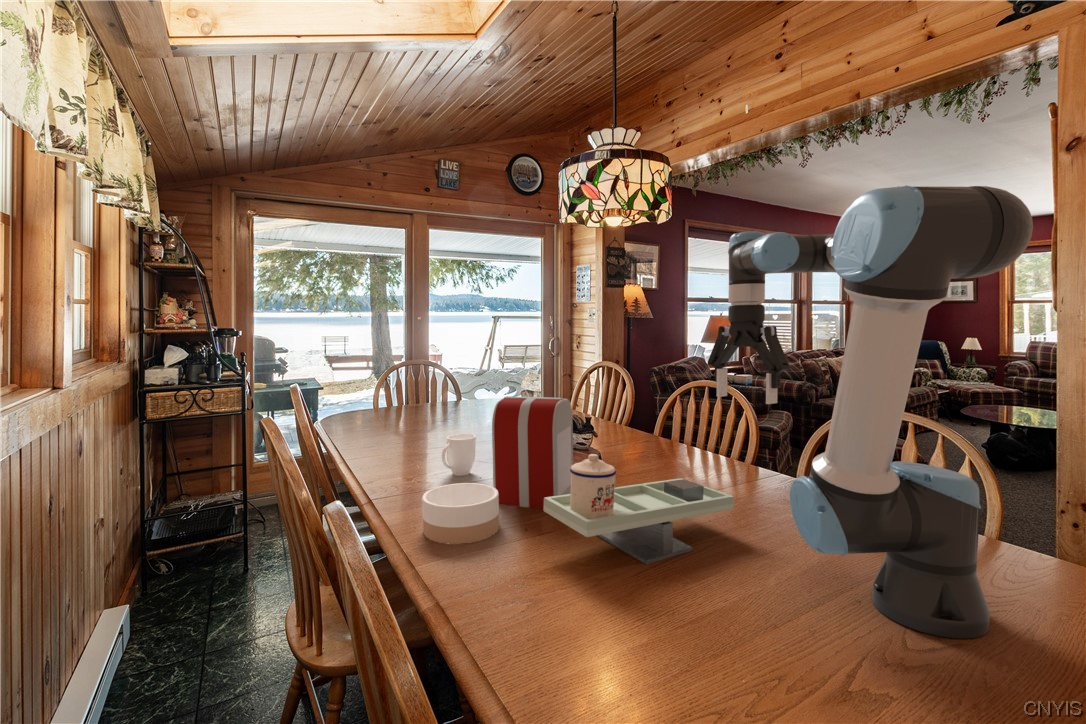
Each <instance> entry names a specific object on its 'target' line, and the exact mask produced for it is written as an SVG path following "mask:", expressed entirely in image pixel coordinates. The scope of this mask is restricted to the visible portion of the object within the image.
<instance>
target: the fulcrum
mask: <svg viewBox="0 0 1086 724" xmlns="http://www.w3.org/2000/svg"><path fill="white" fill-rule="evenodd" d="M673 526H674V524H673V521H669V522H663V523H658V524H653V525H648V526H643V527H637V528H632V529H627V530H622V531H616V532H611V533H606V534H601V535H596V536H597V537H598V538H600V539H602V540H603V541H605V542H607V543H609V544H610V545H612V546H613V547H615V548H618V549H619V550H621V551H623V553H626V554H627V555H630V556H631V557H632V558H634V559H636V560H638V561H640V562H641V563H643V564H644V565H646V566H647V565H650V564H653V563H657V562H659V561H663V560H667V559H670V558H672V557H676V556H680V555H683V554H685V553H689V552H693V546H691V545H689V544H687V543H685V542H683V541H681V540H679V539H677V538H675V537H674V532H673V531H674V527H673Z"/></svg>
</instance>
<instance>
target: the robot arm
mask: <svg viewBox="0 0 1086 724" xmlns="http://www.w3.org/2000/svg"><path fill="white" fill-rule="evenodd" d="M1033 230H1034V223H1033V217H1032V213H1031V211H1030V209H1029V208H1028V206H1027V205H1026V204H1025V202H1024V201H1023V200H1022V199H1021V198H1019V197H1018V196H1016V195H1015V194H1014V193H1012V192H1010V191H1008V190H1005V189H1002V188H999V187H994V186H993V187H991V186H987V185H975V186H974V185H973V186H972V185H970V186H912V185H903V186H902V185H901V186H892V187H891V186H890V187H882V188H881V187H880V188H875V189H872V190H869V191H866V192H865V193H863V194H861V195H859V196H858V197H857V198H856V199H855V200H854V201H853V202H852V204H851V205H848V207H847V208H846V209H845V211H844V212H843V214H842V215H841V217H840V219H839V221H838V222H837V225H836V227H835V231H834V233H828V234H789V233H788V232H785V231H777V232H768V233H767V234H765V233H764V232H762V231H754V230H753V231H752V230H751V231H743V232H737V233H733V234H732V235H731V236H730V238H729V241H728V242H729V243H728V251H727V253H728V303H729V304H730V305H729V306H728V311H727V312H728V318H727V319H728V322H729V323H730V325H729V326H728V325H724V326H723V325H721V326H718V329H717V330H718V331H717V337H716V340H715V342H714V345H713V347H712V349H711V353H710V355H709V357H708V360H707V365H709V366H712V367H713V368H714V381H715V382H716V397H719V398H721V397H728V368H727V367H726V365H727V363H728V362H729V361H730V360H731V358H732V357H733V355H734V354H735V352H736V351H737V350H738V349H739V348H740V347H747V348H748V347H749V348H752V349H754V350H755V352H756V353H757V355H758V357H759V358H760V360H761V361H762V362H763V364H764V365H765V367H766V368H767V370H768V371H767V372H766V374H765V404H766V405H771V404H772V405H773V404H778V389H780V388H781V376H782V375H781V373H782V372H785V371H789V370H790V368H791V367H790V364H789V362H788V359H787V357H786V354H785V352H784V349H783V347H782V344H781V342H780V340H779V338H778V331H777V326H775V325H768V326H767V325H766V326H764V325H763V324H764V322H765V319H766V318H765V317H766V314H765V313H766V311H765V310H766V308H765V305H764V304H763V303H764V302H765V301H766V299H765V297H766V295H765V293H766V275H767V274H795V273H796V274H797V273H799V274H800V273H836V274H837V275H838V276H839V277H840V278H842V279H844V280H845V281H844V286H843V290H844V291H845V292H846V293H847V295H848V296H849V297H850V299H852V301H853V306H852V310H851V311H852V312H851V315H850V321H849V326H848V331H847V337H846V342H845V346H844V347H845V348H844V353H843V358H842V362H841V369H840V374H839V379H838V384H837V389H836V394H835V400H834V406H833V410H832V416H831V422H830V424H829V425H830V426H829V431H828V437H827V442H826V447H825V451H824V452H821V453H820V454H817V455H816V456H815V457H814V458H813V459H812V461H811V465H810V472H809V475H808V476H807V475H801V476H799V477H797V478H795V479H793V481H792V482H791V485H790V490H789V504H790V510H791V513H792V518H793V519H794V523H795V526H796V528H797V530H798V532H799V534H800V536H801V538H802V539H803V540H804V542H805V543H806V545H808V546H809V547H810V548H811V549H812V550H814V551H815V552H817V553H818V554H819V553H820V554H822V555H840V556H847V555H849V554H850V555H852V554H853V555H854V554H877V553H885V556H884V559H883V561H882V562H881V565H880V567H879V570H878V572H877V574H876V576H875V578H874V581H873V583H872V587H871V601H872V604H873V606H874V607H875V608H876V609H877V610H878V611H879V613H882V614H883V615H884V616H886V617H887V618H889V619H890V620H892V621H894V622H896V623H898V624H900V625H902V626H905V627H907V628H909V629H911V630H916V631H918V632H921V633H924V634H928V635H933V636H937V637H941V638H942V637H943V638H951V639H975V638H980V637H982V636H984V635H986V634H987V633H988V632H989V630H990V621H991V619H990V609H989V607H988V606H989V605H988V603H987V601H986V598H985V595H984V592H983V589H982V587H981V583H980V580H979V577H978V574H977V572H978V571H977V569H978V568H977V567H978V545H979V533H980V532H979V530H980V529H979V528H980V513H981V509H982V505H981V503H980V487H979V484H978V483H977V481H976V480H974V479H973V478H972V477H971V476H968V475H966V474H963V473H960V472H957V471H955V470H952V469H946V468H943V467H940V466H939V467H938V466H934V465H930V464H925V463H918V462H913V461H912V462H911V461H910V462H909V461H900V460H899V461H897V460H895V461H893V459H894V456H895V451H896V446H897V444H898V443H897V442H898V438H899V435H900V429H901V425H902V423H903V418H904V413H905V408H906V405H907V402H908V398H909V396H908V395H909V393H910V389H911V385H912V380H913V376H914V371H915V367H916V364H917V359H918V356H919V351H920V350H919V349H920V347H921V343H922V338H923V334H924V329H925V327H926V326H925V325H926V322H927V317H928V313H929V310H930V309H932V307H934V306H936V305H938V304H940V303H941V302H943V301H945V300H946V298H947V295H948V291H949V287H950V283H951V280H952V279H954V280H958V279H973V278H974V279H975V278H979V277H985V276H988V275H992V274H994V273H997V272H1000V271H1002V270H1004V269H1005V268H1007V267H1009V266H1011V265H1012V264H1013V263H1014V262H1015V261H1017V260H1018V259H1019V258H1020V257H1021V256H1022V255H1023V253H1024V252H1025V250H1026V249H1027V248H1028V246H1029V244H1030V241H1031V238H1032V236H1033ZM764 339H765V340H764Z"/></svg>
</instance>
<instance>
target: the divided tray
mask: <svg viewBox="0 0 1086 724" xmlns="http://www.w3.org/2000/svg"><path fill="white" fill-rule="evenodd" d="M682 479H683V478H682V477H680V478H673V479H666V480H664V479H663V480H659V481H651V482H644V483H638V484H631V485H623V486H617V487H616V486H615V487H614V507H613V514H612V515H611V516H606V517H600V518H595V519H587V518H585V517H583V516H581V515H580V514H578V513H576V512H574V511H572V510H571V509H570V496H571V494H566V495H559V496H552V497H545V498H544V509H543V512H544V513H546V514H548V515H550V516H551V517H553V518H554V519H556V520H558V521H559V522H561V523H562V524H563V525H566V526H567V527H569V528H571V529H572V530H575V531H576V532H577V533H579V534H581V535H583V536H584V537H585V538H590V537H594V536H597V535H601V534H606V533H611V532H616V531H622V530H627V529H632V528H637V527H643V526H648V525H653V524H658V523H663V522H673V521H677V520H683V519H689V518H695V517H699V516H704V515H709V514H715V513H720V512H725V511H730V510H734V504H735V503H734V501H735V500H734V499H735V496H734V495H732V494H728V493H726V492H723V491H719V490H717V489H713V488H711V487H709V486H705V485H703V486H704V490H703V500H697V501H691V502H687V501H685V500H682V499H680V498H677V497H674V496H672V495H669V494H667V493H664V482H669V481H675V480H682ZM695 483H696V482H695ZM696 484H699V483H696ZM699 485H701V484H699Z"/></svg>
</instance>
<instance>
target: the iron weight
mask: <svg viewBox="0 0 1086 724" xmlns="http://www.w3.org/2000/svg"><path fill="white" fill-rule="evenodd" d="M704 486H705V485H703V484H700V485H699V483H697V484H696V482H693V481H690V480H687V479H685V478H682V480H675V481H669V482H664V493H667V494H669V495H672V496H674V497H677V498H680V499H682V500H685V501H687V502H691V501H697V500H703V490H704Z"/></svg>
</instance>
